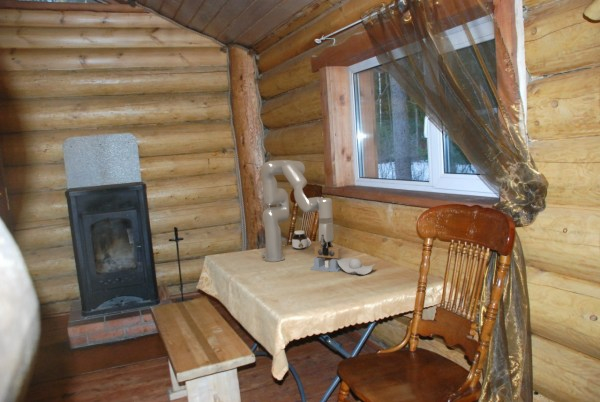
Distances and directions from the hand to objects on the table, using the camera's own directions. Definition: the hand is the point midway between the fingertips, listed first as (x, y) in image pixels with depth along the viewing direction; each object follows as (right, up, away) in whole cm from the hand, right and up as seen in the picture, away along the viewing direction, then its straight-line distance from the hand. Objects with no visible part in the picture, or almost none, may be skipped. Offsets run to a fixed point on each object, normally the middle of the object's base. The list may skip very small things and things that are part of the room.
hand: (327, 253), depth 258 cm
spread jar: (-14, -3, +58) cm, 60 cm away
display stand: (0, -8, +1) cm, 8 cm away
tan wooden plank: (0, -2, 0) cm, 2 cm away
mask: (+15, -9, -7) cm, 19 cm away
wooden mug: (+1, -6, +19) cm, 20 cm away
